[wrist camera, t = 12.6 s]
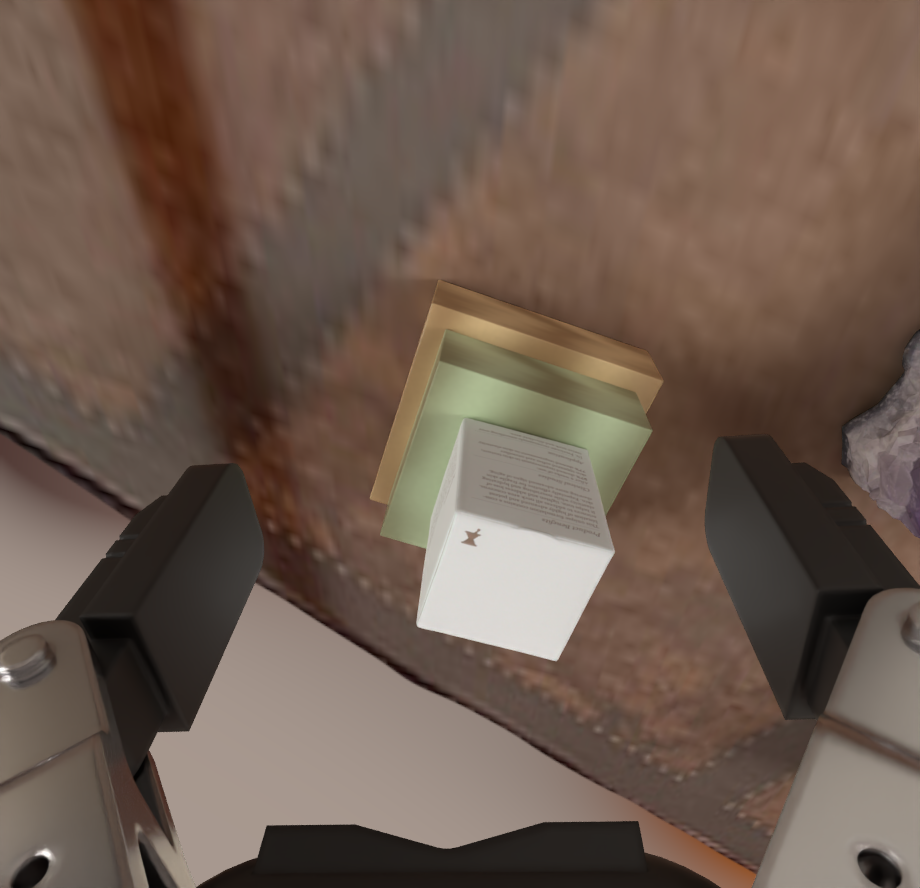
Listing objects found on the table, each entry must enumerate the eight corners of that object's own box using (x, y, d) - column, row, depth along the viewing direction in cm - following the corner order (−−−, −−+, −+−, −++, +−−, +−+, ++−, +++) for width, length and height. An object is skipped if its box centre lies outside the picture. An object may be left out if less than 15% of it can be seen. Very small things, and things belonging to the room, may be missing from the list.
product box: (428, 517, 32) (410, 628, 25) (463, 411, 29) (453, 508, 22) (546, 549, 32) (558, 666, 26) (593, 448, 29) (619, 553, 23)
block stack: (380, 462, 40) (355, 544, 33) (438, 279, 34) (423, 331, 27) (562, 518, 41) (575, 608, 34) (648, 350, 35) (684, 418, 28)
